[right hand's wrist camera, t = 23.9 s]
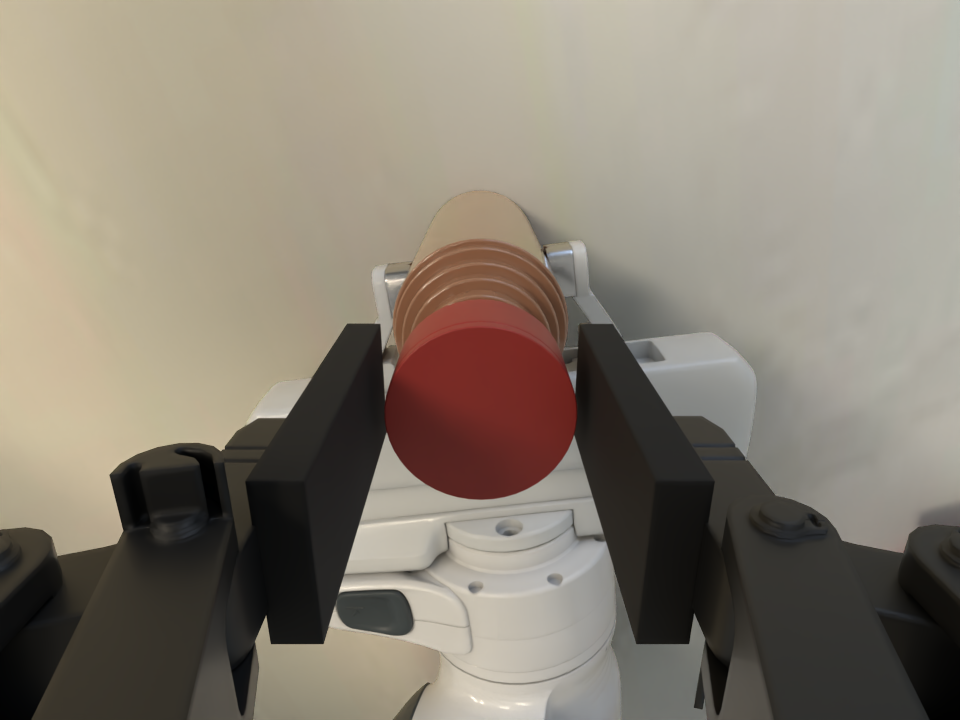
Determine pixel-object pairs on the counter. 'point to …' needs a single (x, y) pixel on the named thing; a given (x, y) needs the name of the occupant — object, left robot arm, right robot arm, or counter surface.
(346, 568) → the left robot arm
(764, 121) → the counter surface
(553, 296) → the bottle
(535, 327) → the cap
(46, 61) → the counter surface
